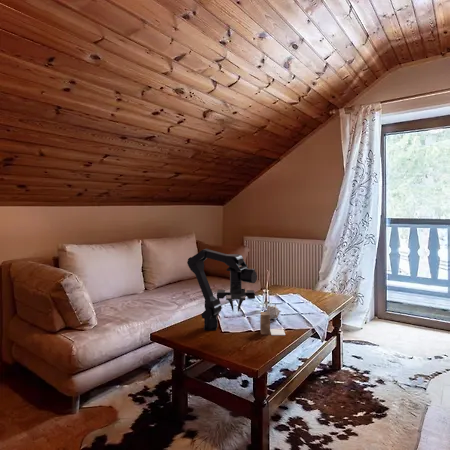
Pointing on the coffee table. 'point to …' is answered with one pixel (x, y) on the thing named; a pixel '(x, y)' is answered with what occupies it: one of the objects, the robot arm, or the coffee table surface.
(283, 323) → the coffee table surface
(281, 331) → the felt mat
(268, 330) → the cardboard box
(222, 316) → the coffee table surface
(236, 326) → the coffee table surface
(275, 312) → the beige lumpy ball
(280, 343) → the coffee table surface
